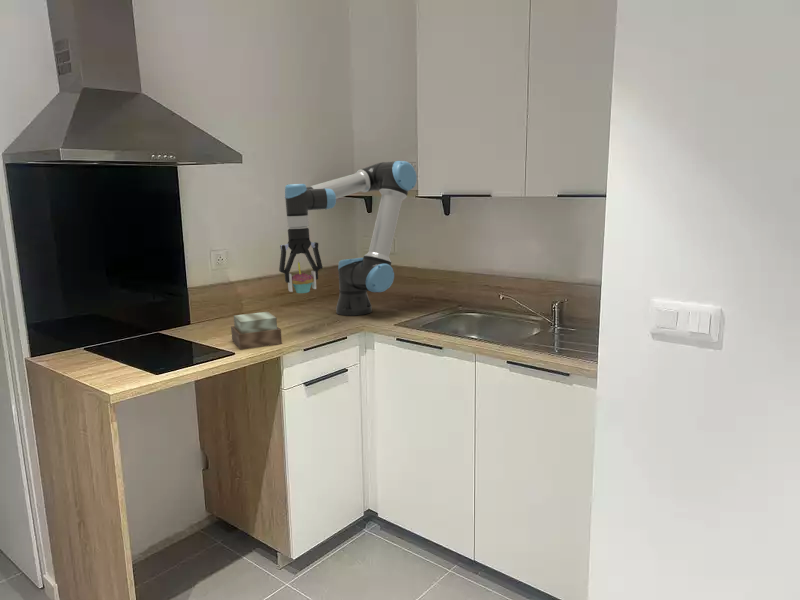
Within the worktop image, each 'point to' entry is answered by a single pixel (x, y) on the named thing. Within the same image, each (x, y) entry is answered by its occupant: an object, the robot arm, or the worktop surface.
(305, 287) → the cupcake
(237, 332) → the block tower
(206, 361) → the worktop surface
